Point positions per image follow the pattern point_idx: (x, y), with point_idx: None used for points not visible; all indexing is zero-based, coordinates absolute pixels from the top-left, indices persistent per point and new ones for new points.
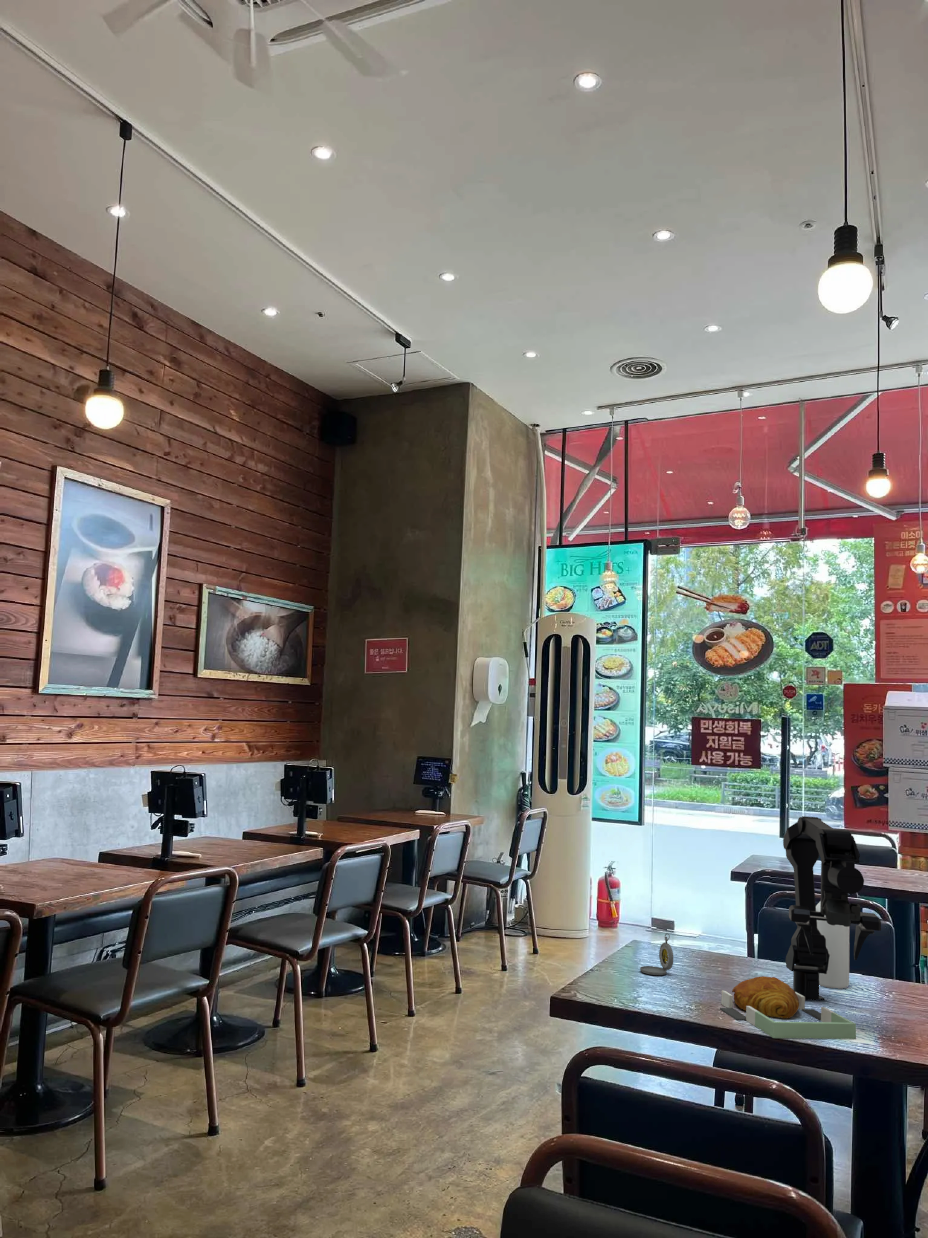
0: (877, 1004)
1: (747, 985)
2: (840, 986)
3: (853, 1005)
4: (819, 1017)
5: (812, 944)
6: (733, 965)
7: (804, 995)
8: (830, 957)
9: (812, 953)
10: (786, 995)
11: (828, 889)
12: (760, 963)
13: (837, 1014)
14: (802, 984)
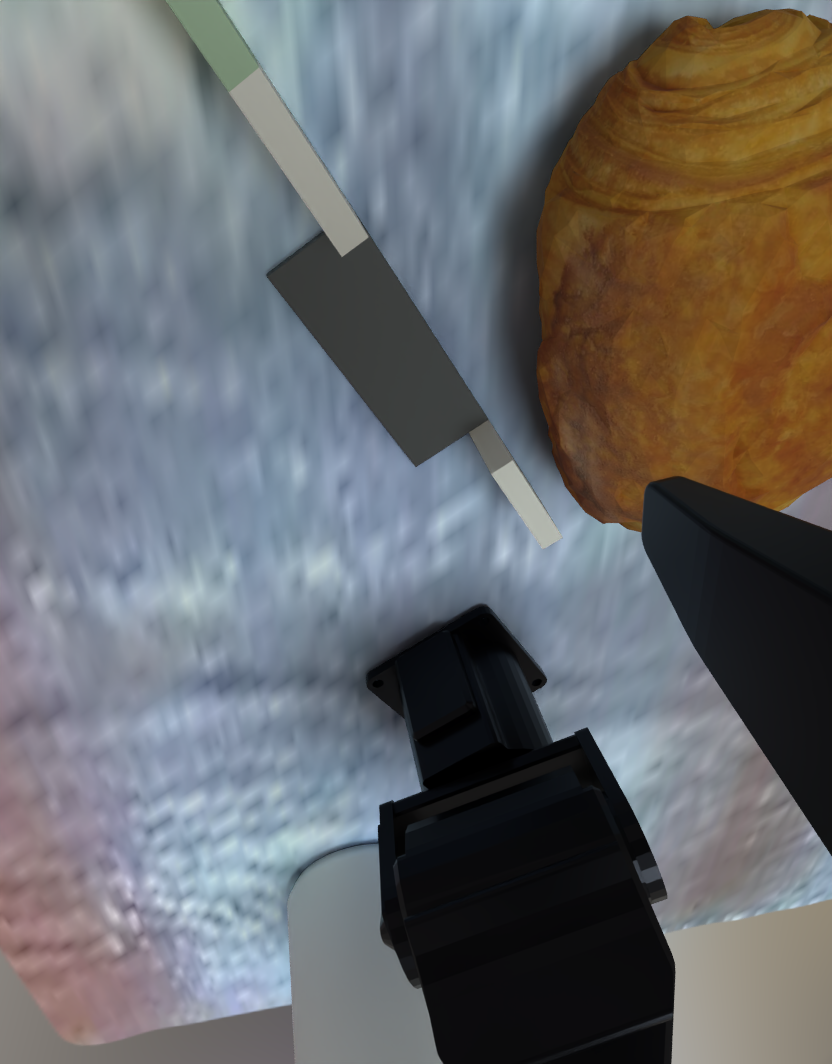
0: (120, 786)
1: None
2: (316, 869)
3: (221, 703)
4: (369, 276)
5: (790, 571)
6: (702, 850)
7: (471, 645)
8: (377, 992)
9: (669, 487)
10: (694, 171)
11: None
12: None
13: (188, 14)
14: (498, 691)
